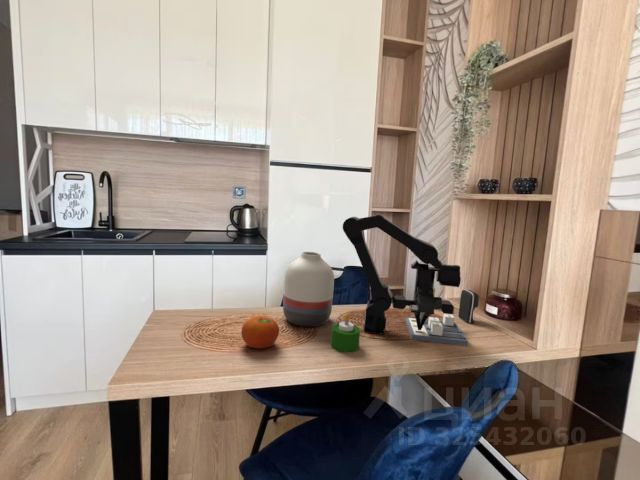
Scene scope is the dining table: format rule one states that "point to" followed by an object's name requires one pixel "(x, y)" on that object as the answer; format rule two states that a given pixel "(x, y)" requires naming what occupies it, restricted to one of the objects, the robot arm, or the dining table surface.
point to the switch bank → (448, 335)
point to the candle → (345, 336)
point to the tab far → (448, 319)
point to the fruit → (260, 332)
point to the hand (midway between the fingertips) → (419, 329)
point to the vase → (308, 290)
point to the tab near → (436, 328)
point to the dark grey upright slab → (468, 305)
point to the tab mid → (432, 319)
